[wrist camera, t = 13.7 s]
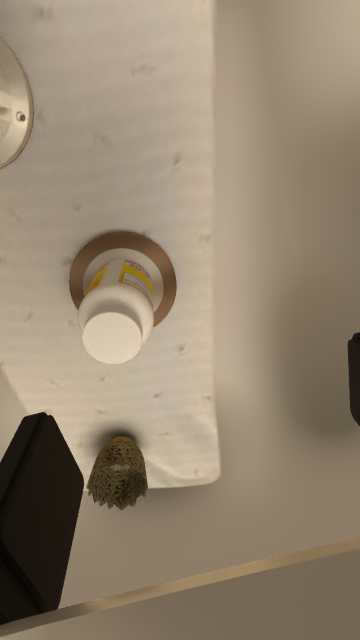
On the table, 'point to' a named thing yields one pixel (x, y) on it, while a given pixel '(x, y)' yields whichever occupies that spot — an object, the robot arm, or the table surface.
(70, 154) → the table surface
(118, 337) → the supplement bottle
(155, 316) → the plate
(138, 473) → the brown scalloped shell
